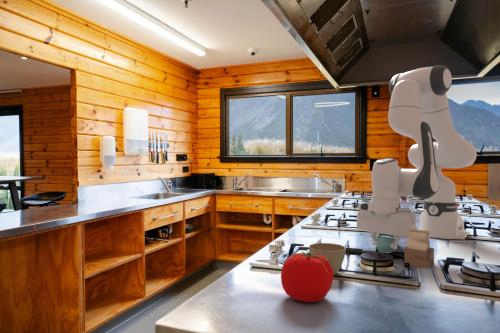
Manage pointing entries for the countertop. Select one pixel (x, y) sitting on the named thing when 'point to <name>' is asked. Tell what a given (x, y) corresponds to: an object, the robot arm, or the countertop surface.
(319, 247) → the flower pot
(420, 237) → the tower top
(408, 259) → the tower base
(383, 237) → the green cube
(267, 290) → the countertop surface
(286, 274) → the tomato
